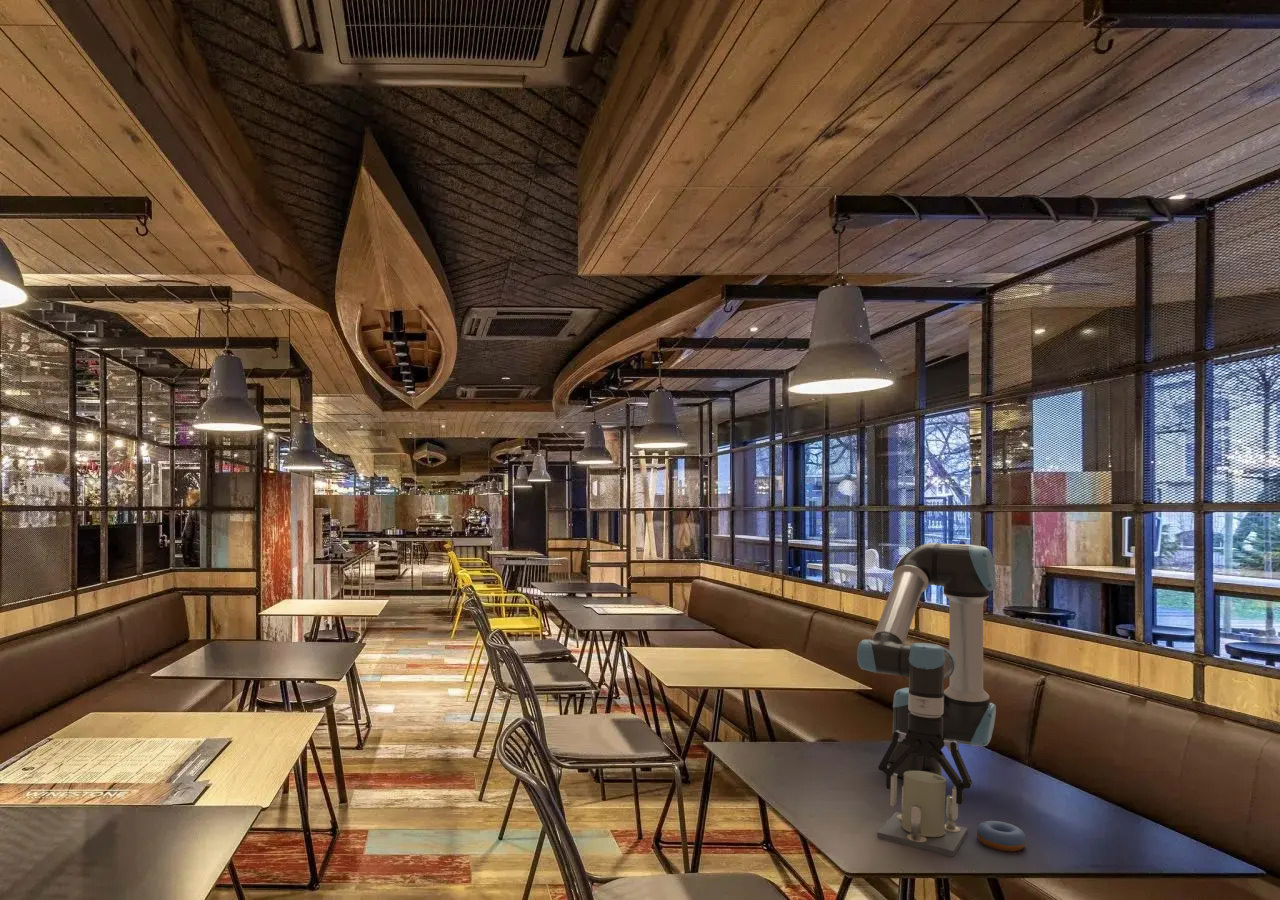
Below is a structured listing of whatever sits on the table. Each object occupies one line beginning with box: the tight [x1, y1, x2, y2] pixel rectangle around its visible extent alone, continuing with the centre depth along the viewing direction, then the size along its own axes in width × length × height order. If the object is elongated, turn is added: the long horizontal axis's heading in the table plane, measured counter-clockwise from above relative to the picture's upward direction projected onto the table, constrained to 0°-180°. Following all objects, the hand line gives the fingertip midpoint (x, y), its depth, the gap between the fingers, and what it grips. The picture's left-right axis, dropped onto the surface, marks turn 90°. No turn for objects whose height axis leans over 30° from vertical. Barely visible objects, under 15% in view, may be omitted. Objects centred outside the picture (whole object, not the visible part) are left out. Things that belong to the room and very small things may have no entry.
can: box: [902, 771, 947, 837], centre depth 184 cm, size 9×9×12 cm
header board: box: [876, 811, 969, 857], centre depth 183 cm, size 16×16×1 cm
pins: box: [901, 785, 957, 841], centre depth 183 cm, size 14×12×7 cm
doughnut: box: [976, 820, 1027, 852], centre depth 181 cm, size 10×10×5 cm
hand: (923, 811), depth 184 cm, fingers open, 13 cm apart
